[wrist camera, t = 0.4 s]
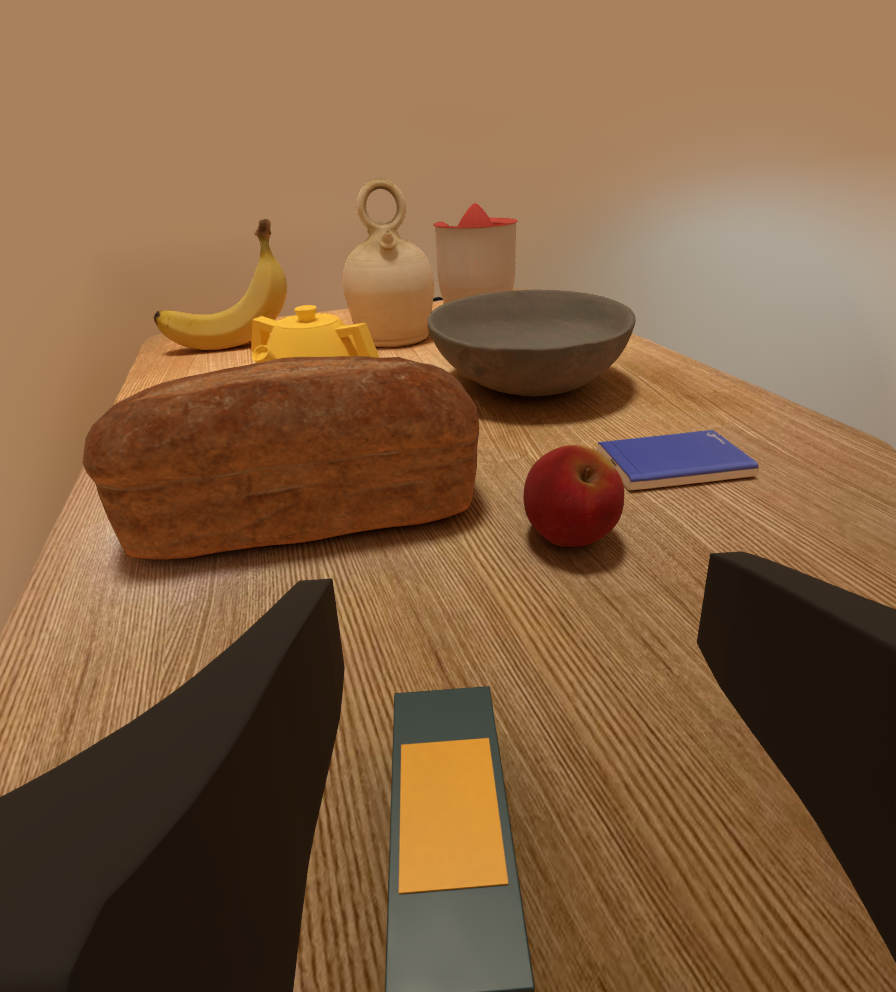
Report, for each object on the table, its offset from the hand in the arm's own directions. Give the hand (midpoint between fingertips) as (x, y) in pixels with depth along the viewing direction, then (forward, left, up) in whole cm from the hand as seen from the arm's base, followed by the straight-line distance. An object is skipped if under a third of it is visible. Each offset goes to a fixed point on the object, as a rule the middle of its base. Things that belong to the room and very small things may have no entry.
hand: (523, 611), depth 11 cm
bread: (+35, +13, -19) cm, 42 cm away
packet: (+5, +2, -19) cm, 20 cm away
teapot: (+68, +18, -19) cm, 73 cm away
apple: (+29, -9, -19) cm, 36 cm away
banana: (+93, +36, -19) cm, 102 cm away
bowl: (+65, -12, -19) cm, 69 cm away
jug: (+93, +7, -19) cm, 95 cm away
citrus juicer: (+108, -9, -19) cm, 110 cm away
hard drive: (+40, -22, -19) cm, 49 cm away
